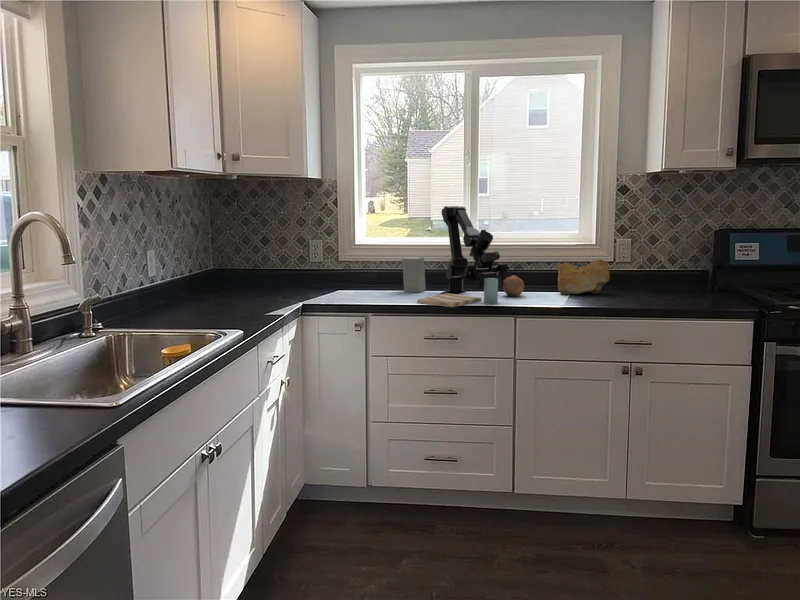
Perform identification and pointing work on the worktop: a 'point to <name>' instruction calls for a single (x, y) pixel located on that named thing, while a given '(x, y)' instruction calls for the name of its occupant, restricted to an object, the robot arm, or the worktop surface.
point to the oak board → (449, 300)
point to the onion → (513, 286)
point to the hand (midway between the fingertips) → (492, 287)
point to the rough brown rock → (582, 277)
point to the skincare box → (413, 274)
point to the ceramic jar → (491, 290)
